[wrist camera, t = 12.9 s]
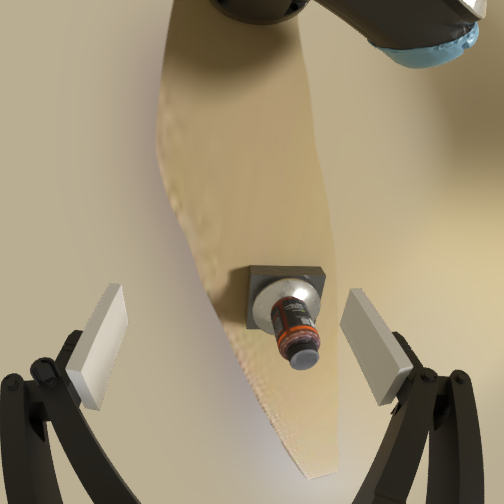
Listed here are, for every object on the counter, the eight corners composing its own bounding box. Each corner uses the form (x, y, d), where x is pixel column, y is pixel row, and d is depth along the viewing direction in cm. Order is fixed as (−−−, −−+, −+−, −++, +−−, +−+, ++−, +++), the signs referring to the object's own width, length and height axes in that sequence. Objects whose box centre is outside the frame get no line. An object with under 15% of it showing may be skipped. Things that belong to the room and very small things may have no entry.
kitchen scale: (249, 264, 48) (252, 280, 44) (320, 266, 49) (329, 280, 45) (245, 321, 53) (247, 338, 49) (309, 320, 54) (315, 336, 50)
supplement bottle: (272, 327, 48) (284, 379, 38) (267, 299, 45) (278, 350, 35) (307, 320, 48) (326, 369, 38) (304, 291, 45) (325, 339, 35)
